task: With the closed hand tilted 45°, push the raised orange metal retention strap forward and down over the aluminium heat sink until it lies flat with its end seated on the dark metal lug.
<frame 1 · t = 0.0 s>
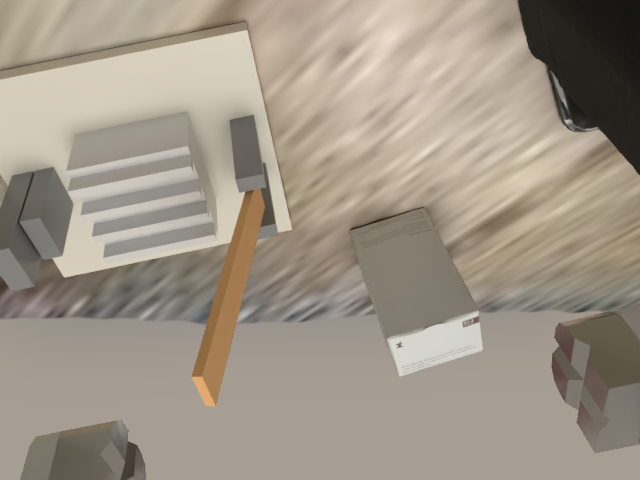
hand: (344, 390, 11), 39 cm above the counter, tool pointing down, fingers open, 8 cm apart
retention strap: (234, 276, 41), point 16 cm above the counter, hinge at 75.0°
socket board: (145, 159, 52), on the counter
skincare box: (392, 234, 63), on the counter
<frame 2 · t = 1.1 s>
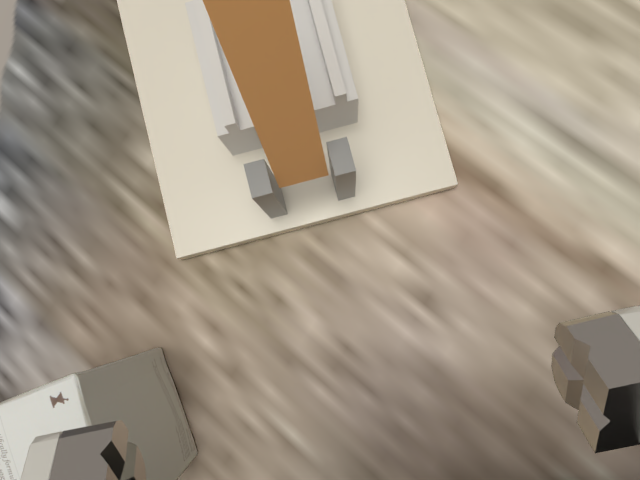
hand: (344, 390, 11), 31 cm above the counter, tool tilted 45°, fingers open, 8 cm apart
retention strap: (276, 91, 28), point 16 cm above the counter, hinge at 75.0°
socket board: (280, 80, 45), on the counter
skincare box: (147, 415, 43), on the counter
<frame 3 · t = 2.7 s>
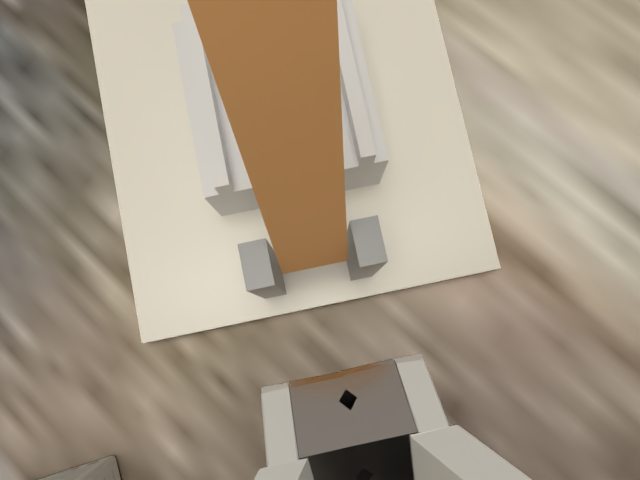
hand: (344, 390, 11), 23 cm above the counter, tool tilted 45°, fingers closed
retention strap: (295, 163, 19), point 16 cm above the counter, hinge at 75.0°
socket board: (284, 123, 36), on the counter
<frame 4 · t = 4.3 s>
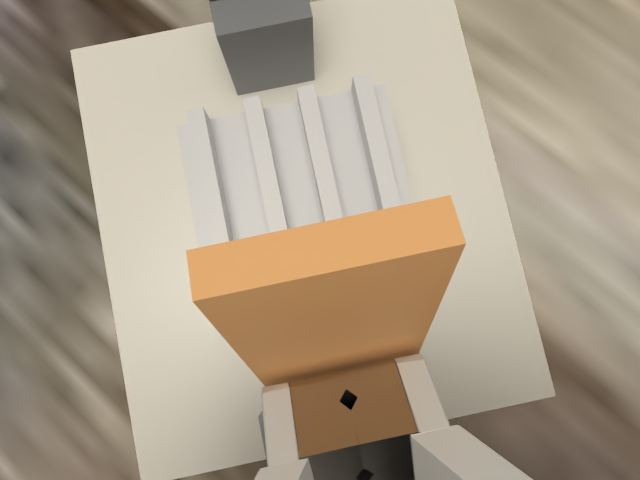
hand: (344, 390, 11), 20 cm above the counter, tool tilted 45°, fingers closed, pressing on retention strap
retention strap: (342, 383, 15), point 16 cm above the counter, hinge at 74.8°, touching gripper
socket board: (304, 221, 32), on the counter
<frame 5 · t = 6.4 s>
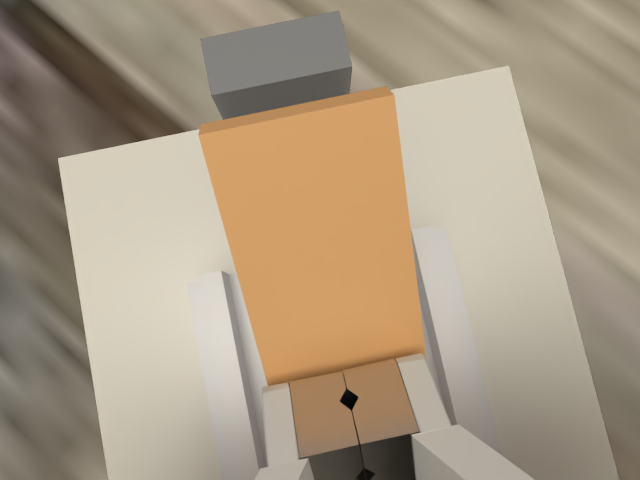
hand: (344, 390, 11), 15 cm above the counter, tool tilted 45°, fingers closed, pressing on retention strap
socket board: (337, 361, 27), on the counter
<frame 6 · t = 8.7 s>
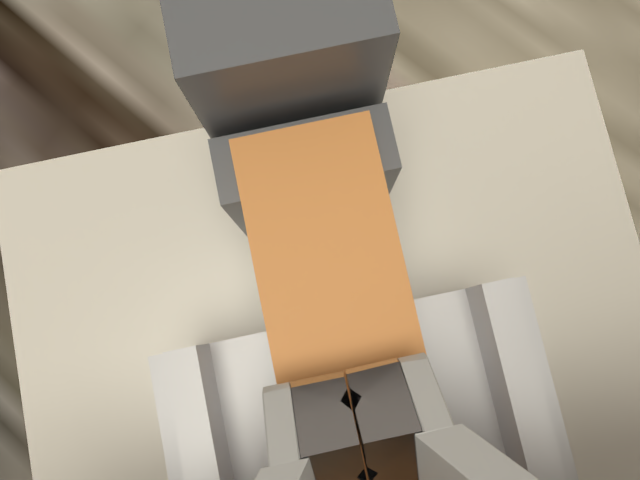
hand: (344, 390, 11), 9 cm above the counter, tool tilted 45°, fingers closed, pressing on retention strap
socket board: (359, 439, 20), on the counter
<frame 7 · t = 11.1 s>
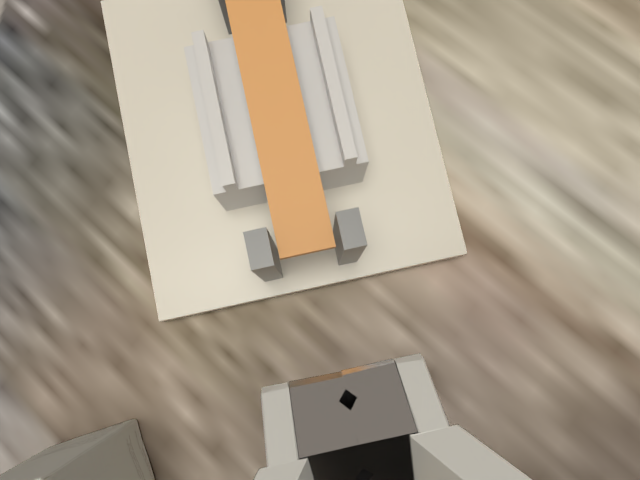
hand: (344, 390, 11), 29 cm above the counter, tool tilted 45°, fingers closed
retention strap: (273, 96, 33), point 8 cm above the counter, hinge at 0.0°, touching socket board
socket board: (280, 130, 42), on the counter
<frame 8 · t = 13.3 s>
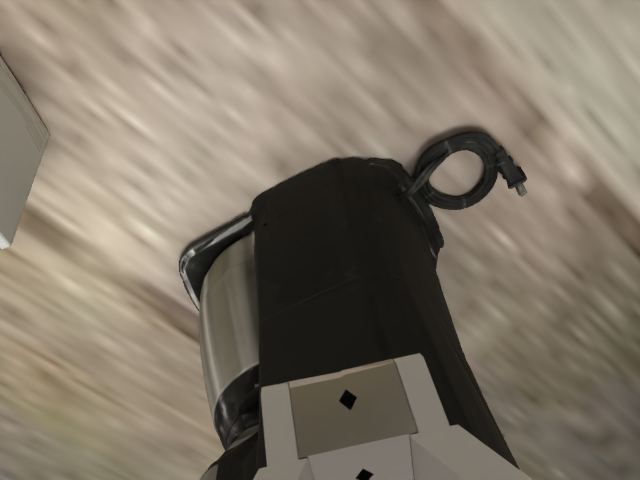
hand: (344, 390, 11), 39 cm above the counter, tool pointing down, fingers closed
coffee maker: (350, 262, 61), on the counter
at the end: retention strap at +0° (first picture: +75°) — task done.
